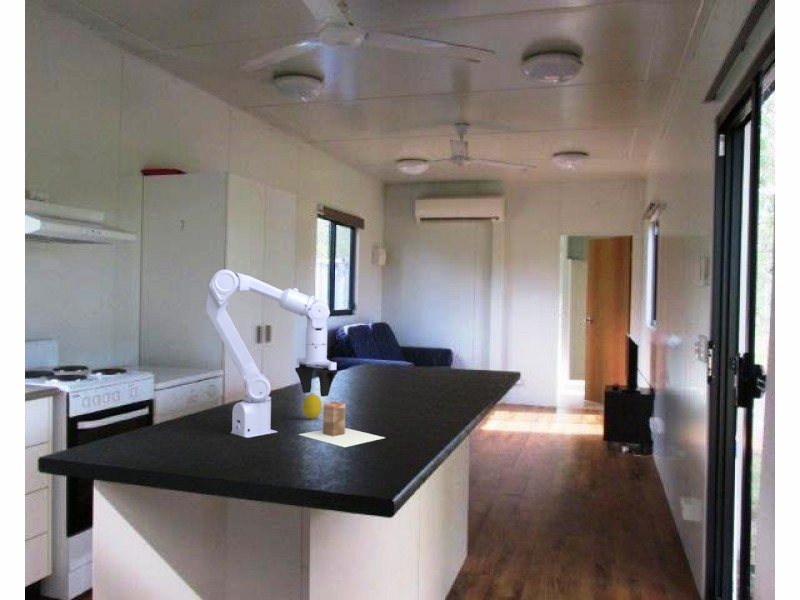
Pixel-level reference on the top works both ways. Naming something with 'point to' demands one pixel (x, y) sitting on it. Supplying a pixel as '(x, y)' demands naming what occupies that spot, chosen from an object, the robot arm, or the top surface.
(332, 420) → the walnut block
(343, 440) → the mat
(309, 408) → the lemon
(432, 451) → the top surface
